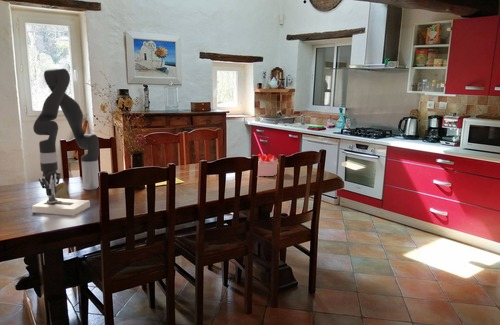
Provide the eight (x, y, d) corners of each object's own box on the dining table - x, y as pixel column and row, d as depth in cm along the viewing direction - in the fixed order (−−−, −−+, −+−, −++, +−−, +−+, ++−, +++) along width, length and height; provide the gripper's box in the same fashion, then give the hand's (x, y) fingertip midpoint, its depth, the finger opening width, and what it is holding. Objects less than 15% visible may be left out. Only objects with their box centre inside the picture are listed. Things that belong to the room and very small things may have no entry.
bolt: (51, 200, 194) (49, 177, 192) (59, 201, 193) (57, 178, 191) (44, 203, 189) (42, 180, 187) (53, 204, 189) (51, 180, 186)
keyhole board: (51, 204, 200) (50, 197, 199) (90, 207, 197) (89, 200, 196) (32, 213, 186) (31, 206, 186) (73, 216, 183) (73, 209, 182)
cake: (275, 178, 267) (276, 158, 264) (247, 176, 271) (248, 156, 268) (279, 172, 285) (280, 153, 282) (254, 170, 290) (254, 151, 287)
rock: (46, 200, 199) (67, 196, 203) (45, 185, 202) (65, 181, 206) (51, 206, 209) (71, 202, 212) (49, 192, 212) (69, 188, 215)
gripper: (51, 158, 194) (53, 190, 198) (31, 163, 181) (34, 198, 184) (64, 158, 193) (67, 191, 197) (46, 164, 180) (49, 199, 183)
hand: (51, 194), depth 191 cm, fingers closed on bolt, 3 cm apart
